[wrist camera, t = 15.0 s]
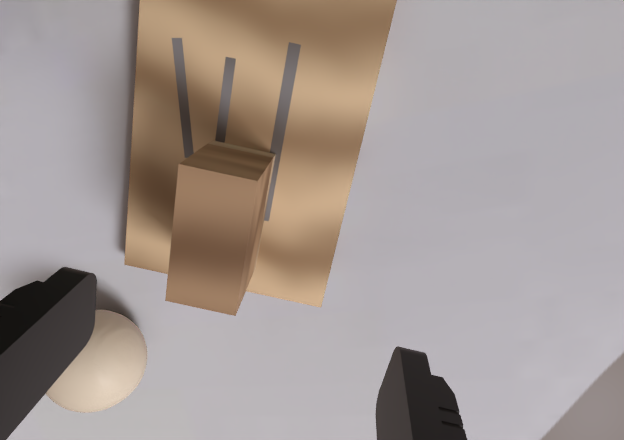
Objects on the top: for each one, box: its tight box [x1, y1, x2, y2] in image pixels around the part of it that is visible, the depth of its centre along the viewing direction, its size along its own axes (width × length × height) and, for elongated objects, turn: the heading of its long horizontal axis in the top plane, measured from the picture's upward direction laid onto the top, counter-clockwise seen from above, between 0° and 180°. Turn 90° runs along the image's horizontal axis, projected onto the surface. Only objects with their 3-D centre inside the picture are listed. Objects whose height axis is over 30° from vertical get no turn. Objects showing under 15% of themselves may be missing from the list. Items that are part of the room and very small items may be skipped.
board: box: [125, 0, 397, 307], centre depth 28 cm, size 24×14×1 cm, turn 168°
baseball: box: [46, 310, 147, 413], centre depth 33 cm, size 7×7×7 cm
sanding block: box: [165, 140, 276, 316], centre depth 27 cm, size 8×4×6 cm, turn 168°
